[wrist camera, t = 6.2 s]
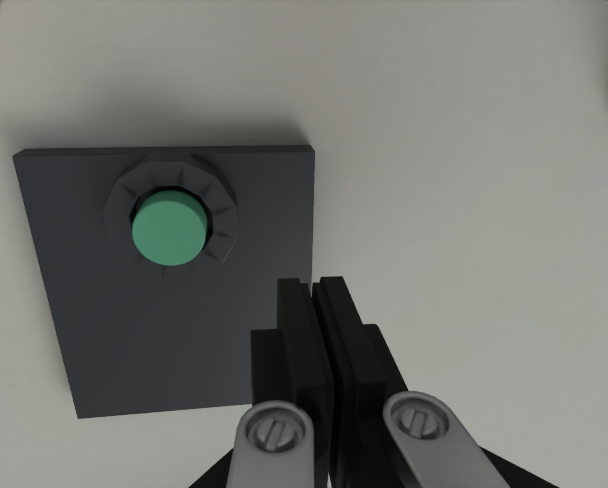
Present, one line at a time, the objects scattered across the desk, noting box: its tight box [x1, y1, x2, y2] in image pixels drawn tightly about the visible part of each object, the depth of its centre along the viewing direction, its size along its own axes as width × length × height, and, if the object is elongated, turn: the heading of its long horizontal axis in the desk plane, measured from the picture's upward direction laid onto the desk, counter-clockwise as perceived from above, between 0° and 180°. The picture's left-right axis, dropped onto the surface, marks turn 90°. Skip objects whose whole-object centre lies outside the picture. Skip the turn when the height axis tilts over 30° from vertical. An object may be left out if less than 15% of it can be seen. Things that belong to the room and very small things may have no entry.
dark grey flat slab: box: [13, 145, 315, 419], centre depth 25 cm, size 16×14×3 cm
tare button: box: [132, 190, 207, 266], centre depth 21 cm, size 3×3×2 cm
